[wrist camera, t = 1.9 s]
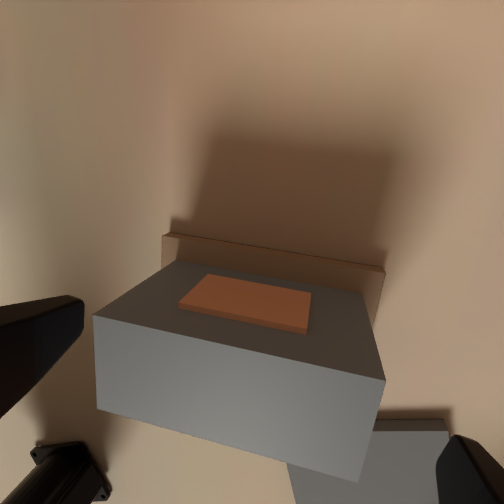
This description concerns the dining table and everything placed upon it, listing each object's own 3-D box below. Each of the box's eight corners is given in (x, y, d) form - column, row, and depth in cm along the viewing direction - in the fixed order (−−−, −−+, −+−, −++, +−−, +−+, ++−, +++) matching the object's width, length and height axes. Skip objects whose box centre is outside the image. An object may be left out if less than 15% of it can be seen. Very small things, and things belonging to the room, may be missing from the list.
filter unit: (166, 334, 24) (80, 428, 16) (169, 232, 22) (70, 278, 13) (356, 377, 22) (375, 516, 13) (382, 267, 19) (427, 351, 11)
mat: (306, 531, 26) (306, 545, 26) (280, 421, 24) (278, 432, 23) (455, 543, 24) (460, 559, 23) (442, 419, 21) (448, 431, 20)
